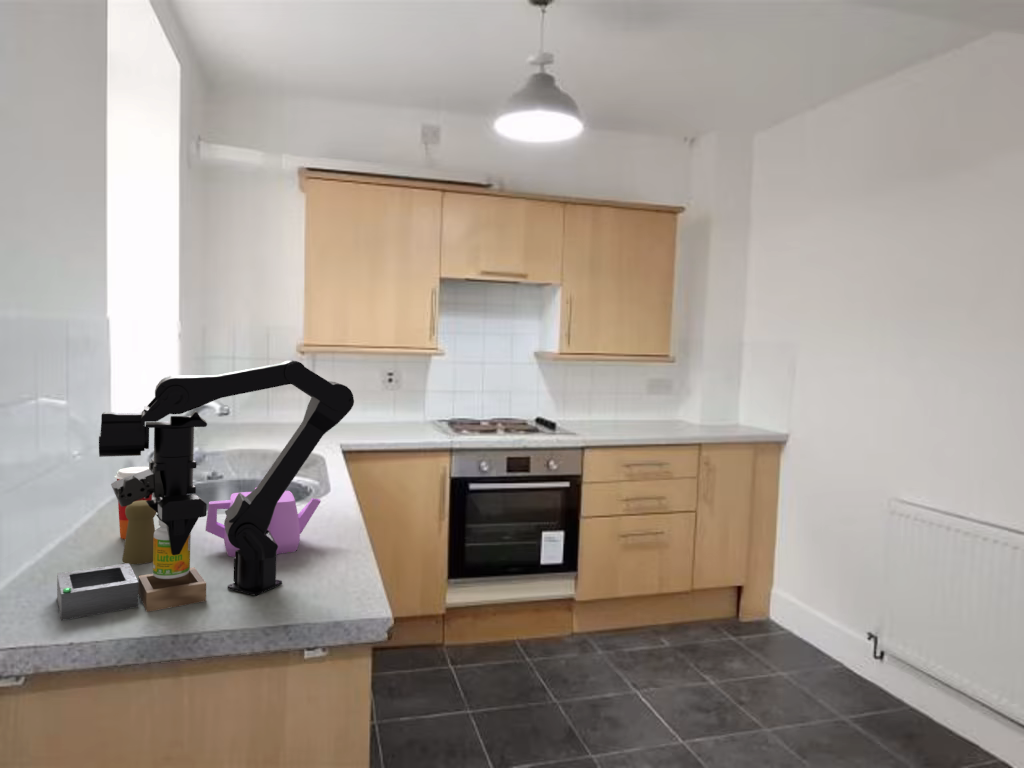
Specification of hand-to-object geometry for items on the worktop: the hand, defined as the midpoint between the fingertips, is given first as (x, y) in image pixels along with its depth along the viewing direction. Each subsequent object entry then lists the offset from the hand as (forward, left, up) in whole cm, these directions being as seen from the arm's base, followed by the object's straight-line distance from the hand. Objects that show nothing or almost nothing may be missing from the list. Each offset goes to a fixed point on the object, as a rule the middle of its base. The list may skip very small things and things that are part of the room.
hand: (172, 549), depth 108 cm
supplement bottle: (0, 0, -4) cm, 4 cm away
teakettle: (+7, -28, -8) cm, 30 cm away
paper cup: (+33, -19, -8) cm, 39 cm away
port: (+8, +7, -8) cm, 13 cm away
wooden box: (0, 0, -8) cm, 8 cm away
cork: (+20, -10, -8) cm, 24 cm away
